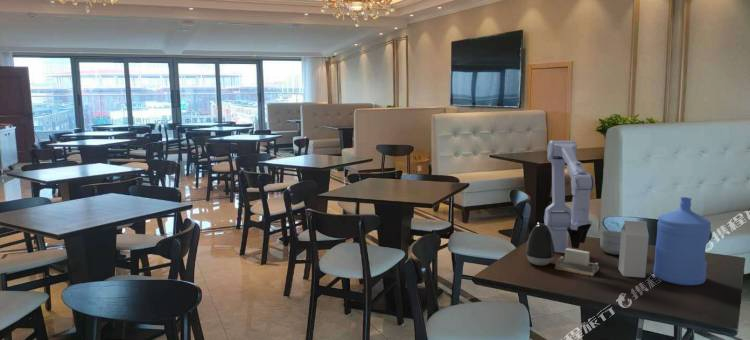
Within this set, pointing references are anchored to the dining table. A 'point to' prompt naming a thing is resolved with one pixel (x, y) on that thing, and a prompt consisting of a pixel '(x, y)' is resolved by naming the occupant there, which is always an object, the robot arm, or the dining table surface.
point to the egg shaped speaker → (540, 246)
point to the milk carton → (633, 249)
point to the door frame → (576, 267)
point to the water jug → (681, 246)
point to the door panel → (577, 256)
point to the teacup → (610, 241)
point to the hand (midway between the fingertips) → (578, 245)
